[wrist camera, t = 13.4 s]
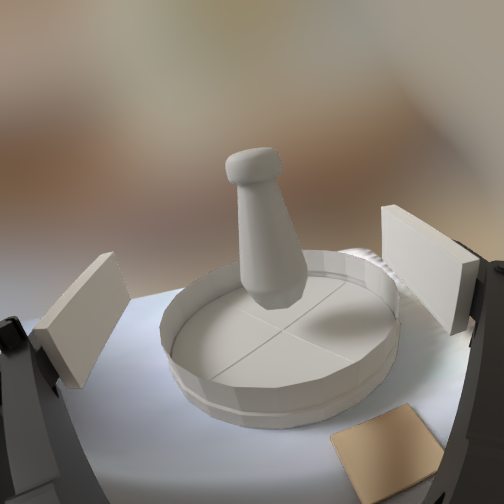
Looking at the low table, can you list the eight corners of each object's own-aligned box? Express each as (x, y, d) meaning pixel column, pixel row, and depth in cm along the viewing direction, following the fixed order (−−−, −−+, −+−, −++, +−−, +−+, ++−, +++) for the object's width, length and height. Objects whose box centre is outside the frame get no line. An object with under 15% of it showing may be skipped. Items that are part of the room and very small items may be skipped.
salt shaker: (240, 294, 30) (208, 157, 25) (294, 276, 31) (271, 143, 27) (259, 324, 25) (222, 158, 20) (322, 301, 26) (300, 142, 21)
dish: (140, 351, 32) (123, 313, 30) (281, 271, 44) (276, 238, 42) (286, 487, 15) (276, 451, 13) (433, 315, 28) (438, 272, 26)
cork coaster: (363, 508, 12) (364, 506, 12) (330, 439, 18) (330, 435, 18) (448, 464, 13) (450, 460, 13) (406, 407, 18) (407, 402, 18)
